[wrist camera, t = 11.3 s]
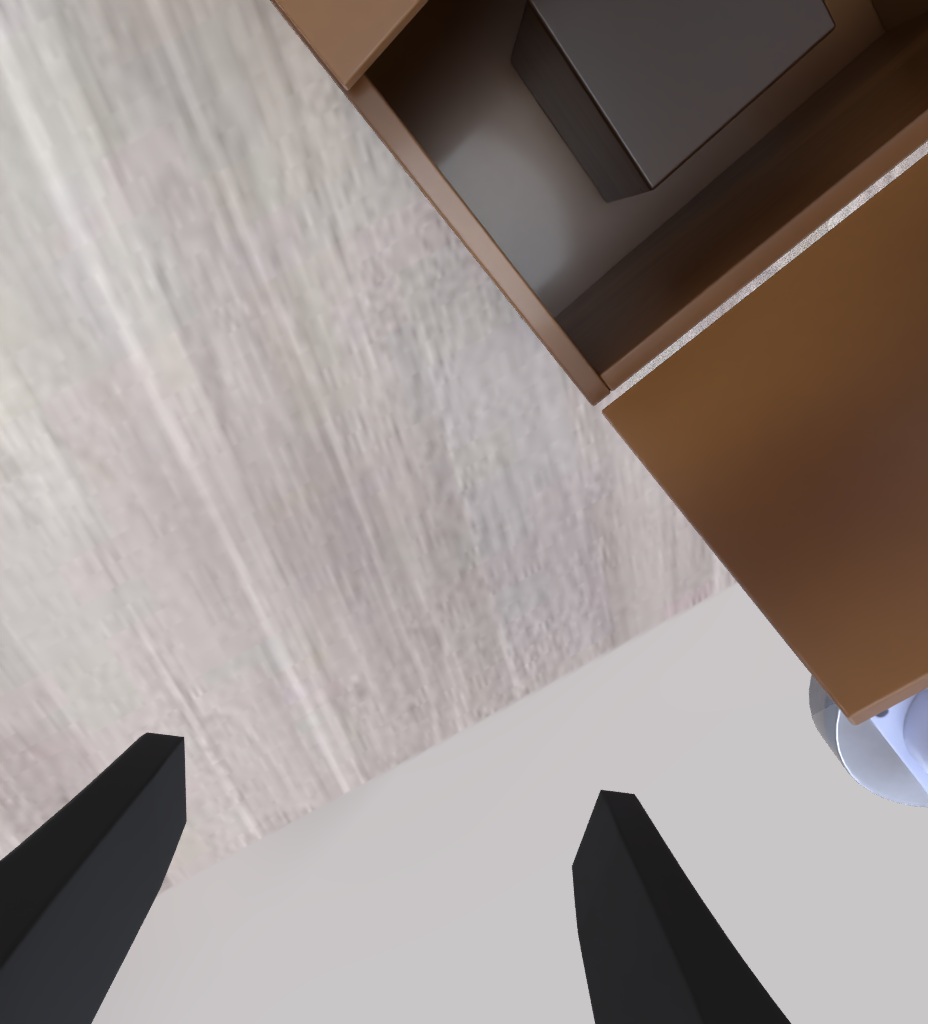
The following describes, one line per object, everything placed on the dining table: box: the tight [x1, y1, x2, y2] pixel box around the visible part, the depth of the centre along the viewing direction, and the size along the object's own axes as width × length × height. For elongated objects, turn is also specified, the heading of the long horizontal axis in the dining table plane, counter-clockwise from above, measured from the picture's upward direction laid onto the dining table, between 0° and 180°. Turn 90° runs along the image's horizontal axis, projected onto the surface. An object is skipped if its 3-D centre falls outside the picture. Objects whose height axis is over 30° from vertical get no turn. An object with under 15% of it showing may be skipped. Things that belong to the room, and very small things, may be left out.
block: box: [511, 0, 836, 203], centre depth 12 cm, size 4×4×4 cm
